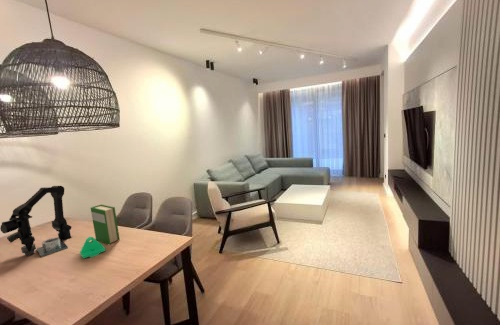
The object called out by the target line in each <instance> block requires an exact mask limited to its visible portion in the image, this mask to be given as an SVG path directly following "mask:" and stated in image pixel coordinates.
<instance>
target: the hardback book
mask: <svg viewBox="0 0 500 325" xmlns="http://www.w3.org/2000/svg"><path fill="white" fill-rule="evenodd" d="M90 212H91V218H92V224H93V230H94V237H95V239H96V240H98V242H99V243H103V244H105V243H106V245H108V244H110V245H111V244H112V243H114V242H116V241H117V240H119V241H120V233H119V227H118V220H117V214H116V208H115V206H111V205H106V204H99V205H98V204H97V205H95V206H91V207H90Z"/></svg>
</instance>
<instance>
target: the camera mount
mask: <svg viewBox="0 0 500 325" xmlns="http://www.w3.org/2000/svg"><path fill="white" fill-rule="evenodd" d="M105 251H106V247H105V246H104V245H103V244H102V243H101V242H100V241H97V240H96V238H94V236H88V237H87V238H86V239H85V242H84V243H83V245H82V248H81V250H80V256H81V257H82V258H83V259H87V258H88V257H89V258H92V257H93V258H94V257H95V256H96V257H97V256H98V255H100V253H103V252H105Z"/></svg>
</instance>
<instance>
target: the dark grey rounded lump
mask: <svg viewBox="0 0 500 325" xmlns="http://www.w3.org/2000/svg"><path fill="white" fill-rule="evenodd" d="M20 250H21V253H22V254H24V256H25V257H28V256H31V255H34V254H35V250H37V246H36V244H35V243H33V246H32V249H31V251H28V249H27V248H26V246H25V245H23V246H21V247H20Z"/></svg>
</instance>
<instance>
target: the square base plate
mask: <svg viewBox="0 0 500 325" xmlns="http://www.w3.org/2000/svg"><path fill="white" fill-rule="evenodd" d="M41 245H42V246H40V247H36V251H37V252H38V255H39V256H40V258H43V257H46V256H48V255H52V254H54V253H57V252H60V251H62V250H67V249H69V246H68V245H67V244H66V243H65V242H64V240H62V241H61V240H60V239H59V238H58V237H52V238H47V239H46V240H43V241H42V242H41Z"/></svg>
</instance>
